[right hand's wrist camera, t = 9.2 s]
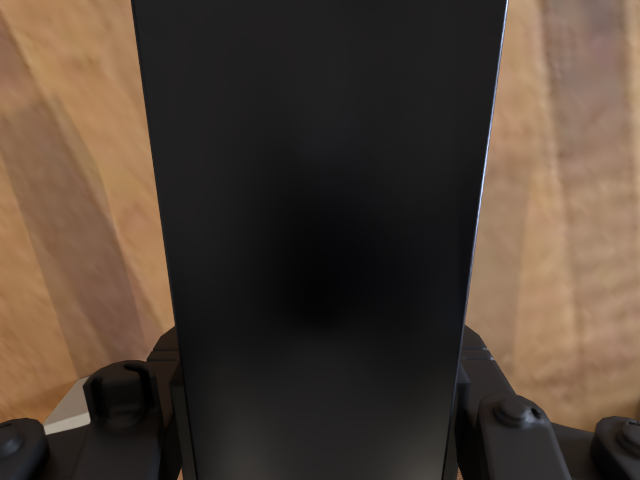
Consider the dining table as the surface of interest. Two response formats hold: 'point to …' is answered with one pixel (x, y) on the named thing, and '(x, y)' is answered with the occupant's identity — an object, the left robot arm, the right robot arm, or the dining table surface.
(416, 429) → the bar
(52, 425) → the cream block
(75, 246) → the dining table surface
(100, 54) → the dining table surface
